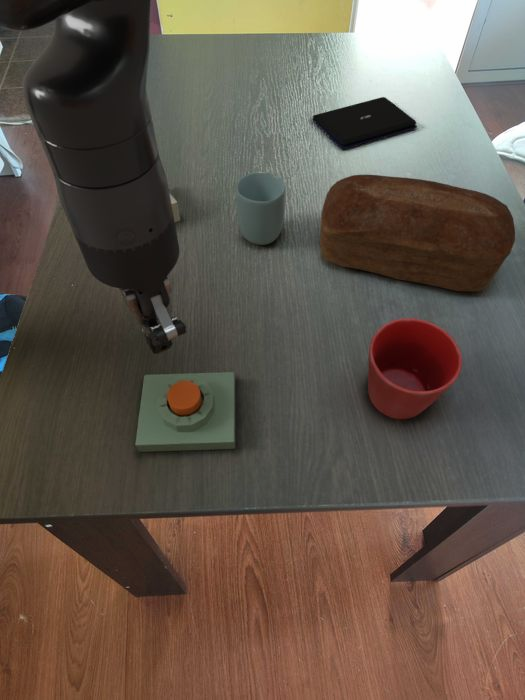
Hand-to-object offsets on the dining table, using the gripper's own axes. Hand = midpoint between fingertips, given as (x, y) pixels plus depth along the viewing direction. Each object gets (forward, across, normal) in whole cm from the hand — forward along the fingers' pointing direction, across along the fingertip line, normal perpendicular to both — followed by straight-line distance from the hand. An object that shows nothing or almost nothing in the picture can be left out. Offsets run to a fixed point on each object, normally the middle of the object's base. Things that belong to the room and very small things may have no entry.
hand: (160, 345), depth 49 cm
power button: (+11, -1, -1) cm, 11 cm away
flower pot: (+15, -13, -26) cm, 33 cm away
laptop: (+14, +42, -63) cm, 77 cm away
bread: (+14, +6, -44) cm, 47 cm away
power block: (+15, -1, -1) cm, 15 cm away
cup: (+15, +23, -27) cm, 38 cm away
